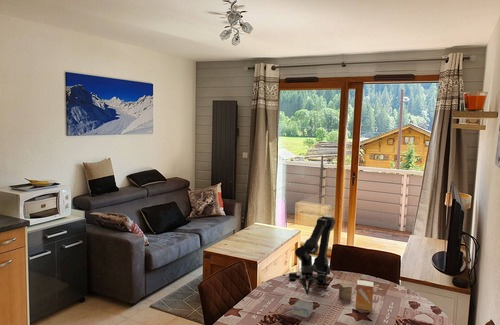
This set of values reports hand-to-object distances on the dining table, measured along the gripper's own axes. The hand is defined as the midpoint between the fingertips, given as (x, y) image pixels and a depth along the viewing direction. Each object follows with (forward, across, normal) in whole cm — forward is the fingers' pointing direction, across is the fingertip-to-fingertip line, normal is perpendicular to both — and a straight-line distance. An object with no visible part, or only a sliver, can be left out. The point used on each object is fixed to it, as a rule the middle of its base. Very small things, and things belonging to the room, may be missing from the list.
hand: (307, 294), depth 197 cm
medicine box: (+4, -1, +2) cm, 5 cm away
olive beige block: (-5, +21, +16) cm, 27 cm away
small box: (+3, +29, +8) cm, 31 cm away
